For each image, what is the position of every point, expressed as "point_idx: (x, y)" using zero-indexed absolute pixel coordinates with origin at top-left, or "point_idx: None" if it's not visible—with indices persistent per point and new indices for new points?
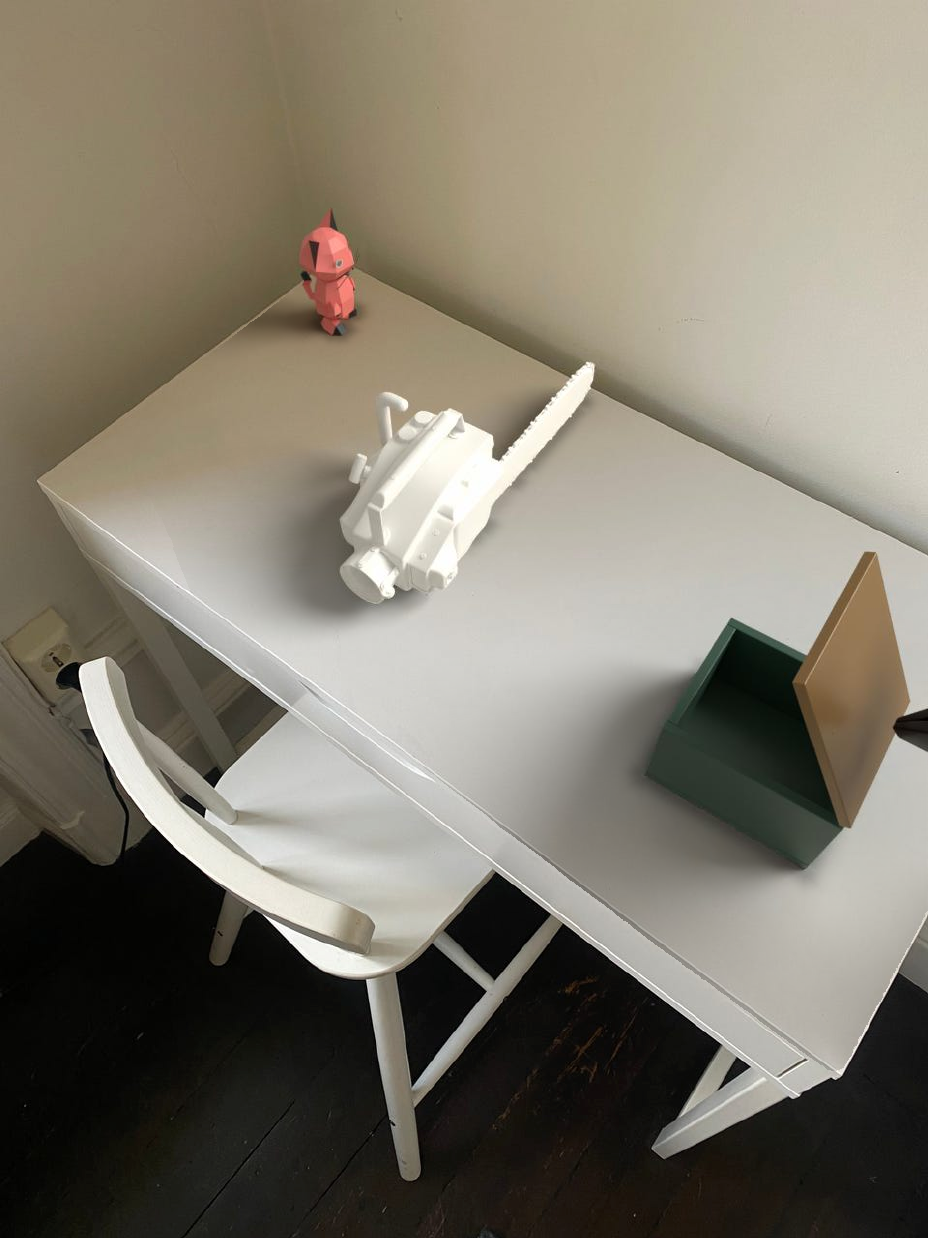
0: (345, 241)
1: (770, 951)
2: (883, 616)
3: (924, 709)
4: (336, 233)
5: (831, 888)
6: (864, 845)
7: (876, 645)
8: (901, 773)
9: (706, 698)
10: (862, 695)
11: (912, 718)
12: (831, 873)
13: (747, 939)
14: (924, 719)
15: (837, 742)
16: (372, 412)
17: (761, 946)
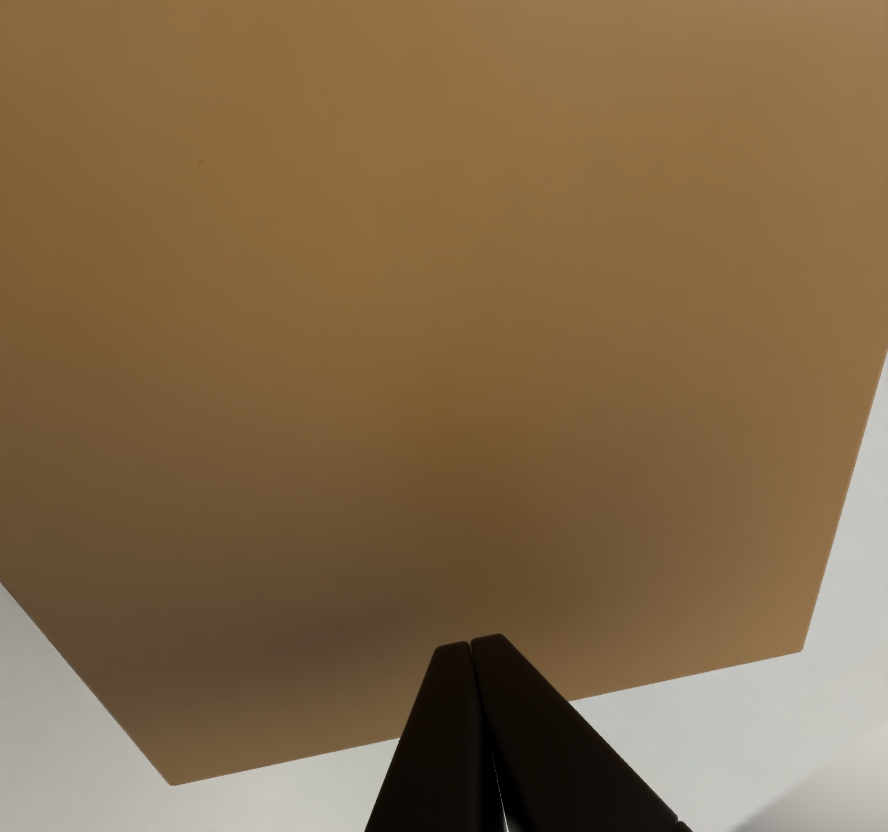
0: None
1: (59, 801)
2: (859, 113)
3: (575, 716)
4: None
5: (294, 824)
6: None
7: (681, 241)
8: (711, 778)
9: None
10: (405, 405)
11: (494, 694)
12: (329, 799)
13: (54, 739)
14: (501, 759)
15: (48, 468)
16: None
17: (58, 776)
